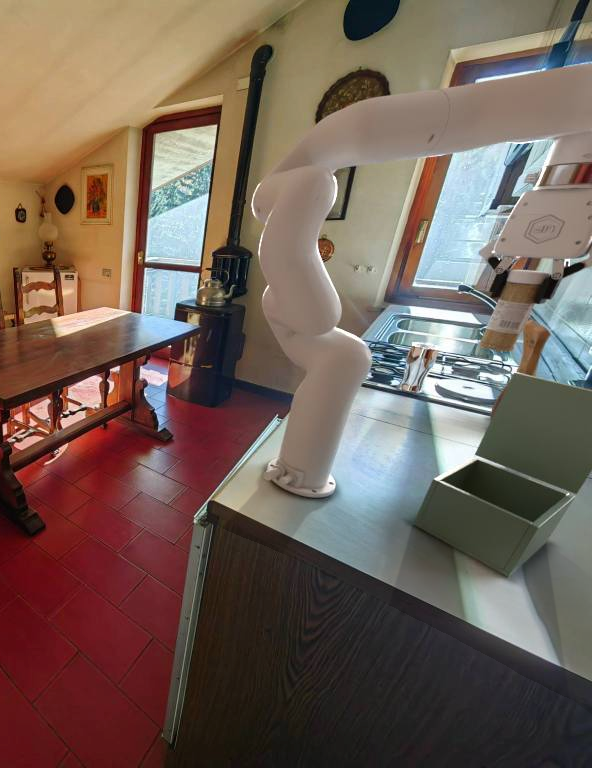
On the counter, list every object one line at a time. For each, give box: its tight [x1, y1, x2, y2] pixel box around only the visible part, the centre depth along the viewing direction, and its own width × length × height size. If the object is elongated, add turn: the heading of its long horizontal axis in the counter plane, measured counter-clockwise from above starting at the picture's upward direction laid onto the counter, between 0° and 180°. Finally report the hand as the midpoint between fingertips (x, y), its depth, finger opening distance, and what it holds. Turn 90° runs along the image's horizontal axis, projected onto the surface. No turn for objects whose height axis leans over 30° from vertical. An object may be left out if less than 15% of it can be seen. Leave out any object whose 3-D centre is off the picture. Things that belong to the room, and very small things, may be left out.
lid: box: [474, 371, 592, 495], centre depth 65 cm, size 16×13×5 cm
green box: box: [412, 456, 576, 578], centre depth 66 cm, size 16×13×10 cm
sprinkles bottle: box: [478, 269, 551, 352], centre depth 67 cm, size 5×5×14 cm
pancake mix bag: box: [489, 318, 552, 423], centre depth 99 cm, size 7×19×28 cm, turn 135°
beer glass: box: [397, 342, 440, 395], centre depth 124 cm, size 7×7×15 cm
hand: (517, 299), depth 66 cm, fingers closed on sprinkles bottle, 4 cm apart
